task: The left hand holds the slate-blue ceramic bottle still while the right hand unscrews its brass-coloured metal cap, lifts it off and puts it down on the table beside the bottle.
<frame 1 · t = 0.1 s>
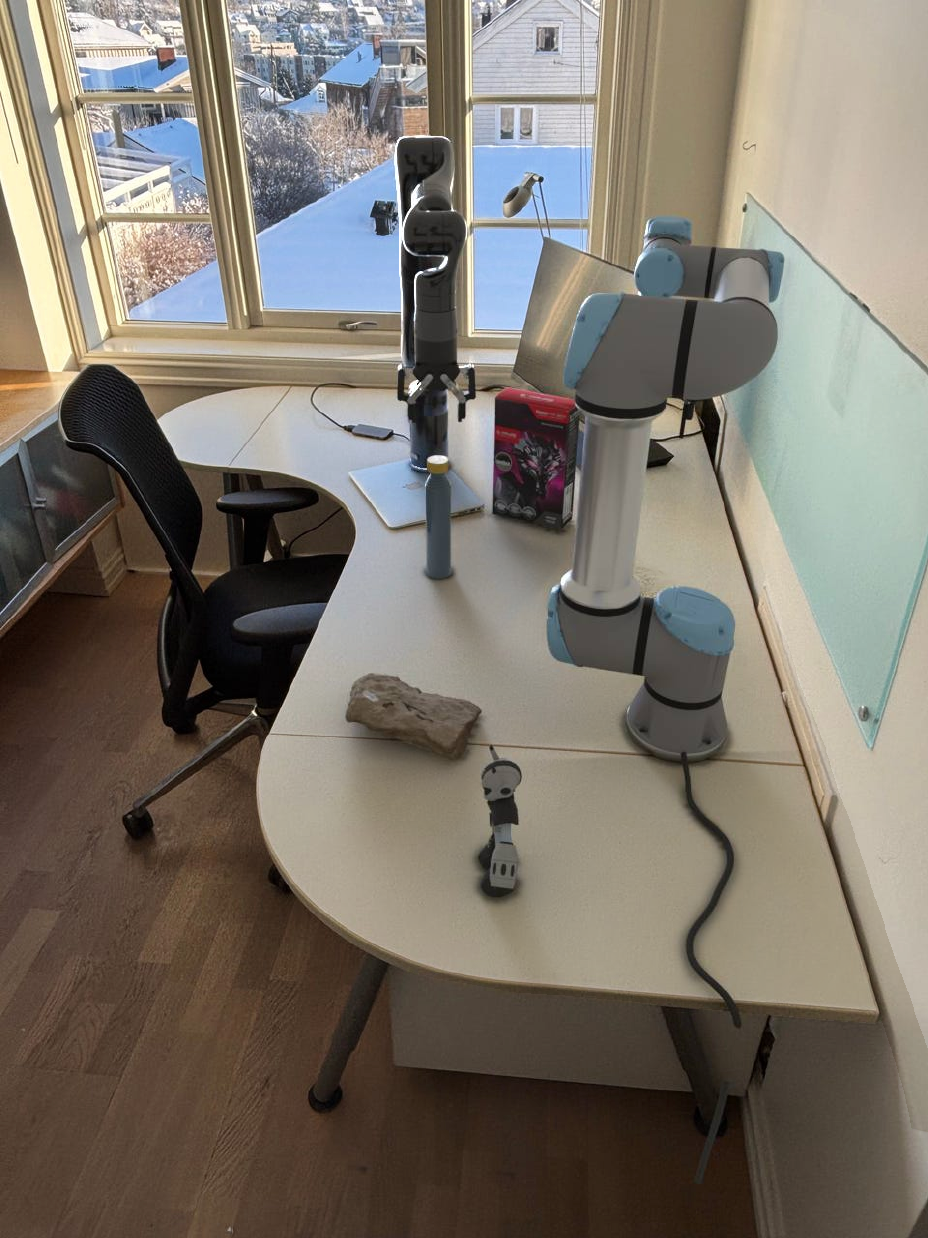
left hand: (436, 421, 170), 29 cm above the table, tool pointing down, fingers open, 8 cm apart
right hand: (643, 431, 170), 28 cm above the table, tool pointing down, fingers open, 13 cm apart
robot: (497, 872, 120), on the table
stone: (408, 728, 143), on the table
cap: (437, 461, 169), point 24 cm above the table, screwed on, not yet turned
bottle: (438, 572, 182), on the table
graphics card box: (531, 518, 202), on the table
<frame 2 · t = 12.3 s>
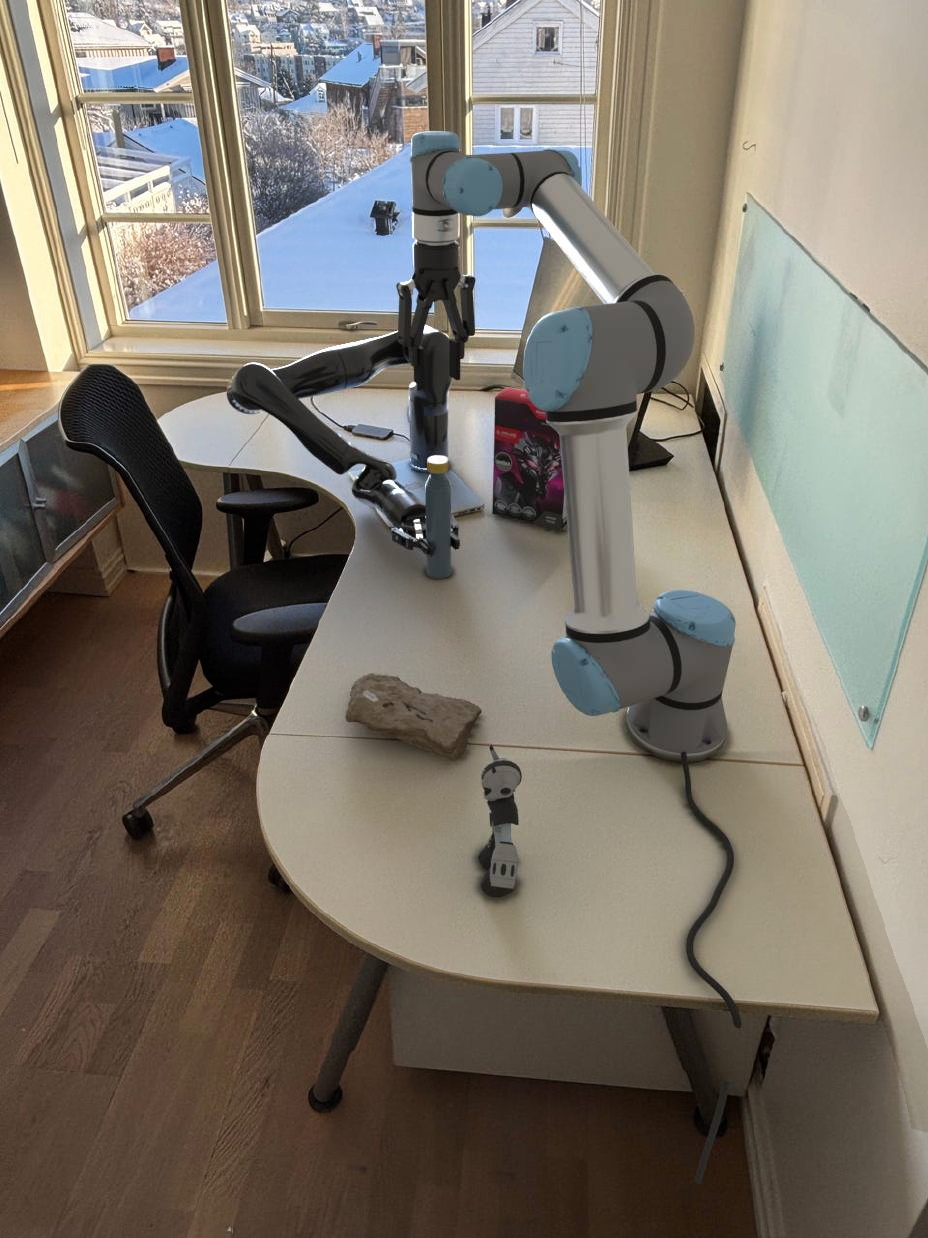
left hand: (445, 548, 177), 7 cm above the table, tool horizontal, fingers closed on bottle, 5 cm apart
right hand: (437, 380, 161), 39 cm above the table, tool pointing down, fingers open, 6 cm apart
bottle: (438, 572, 182), on the table, touching left hand
everything else where it was.
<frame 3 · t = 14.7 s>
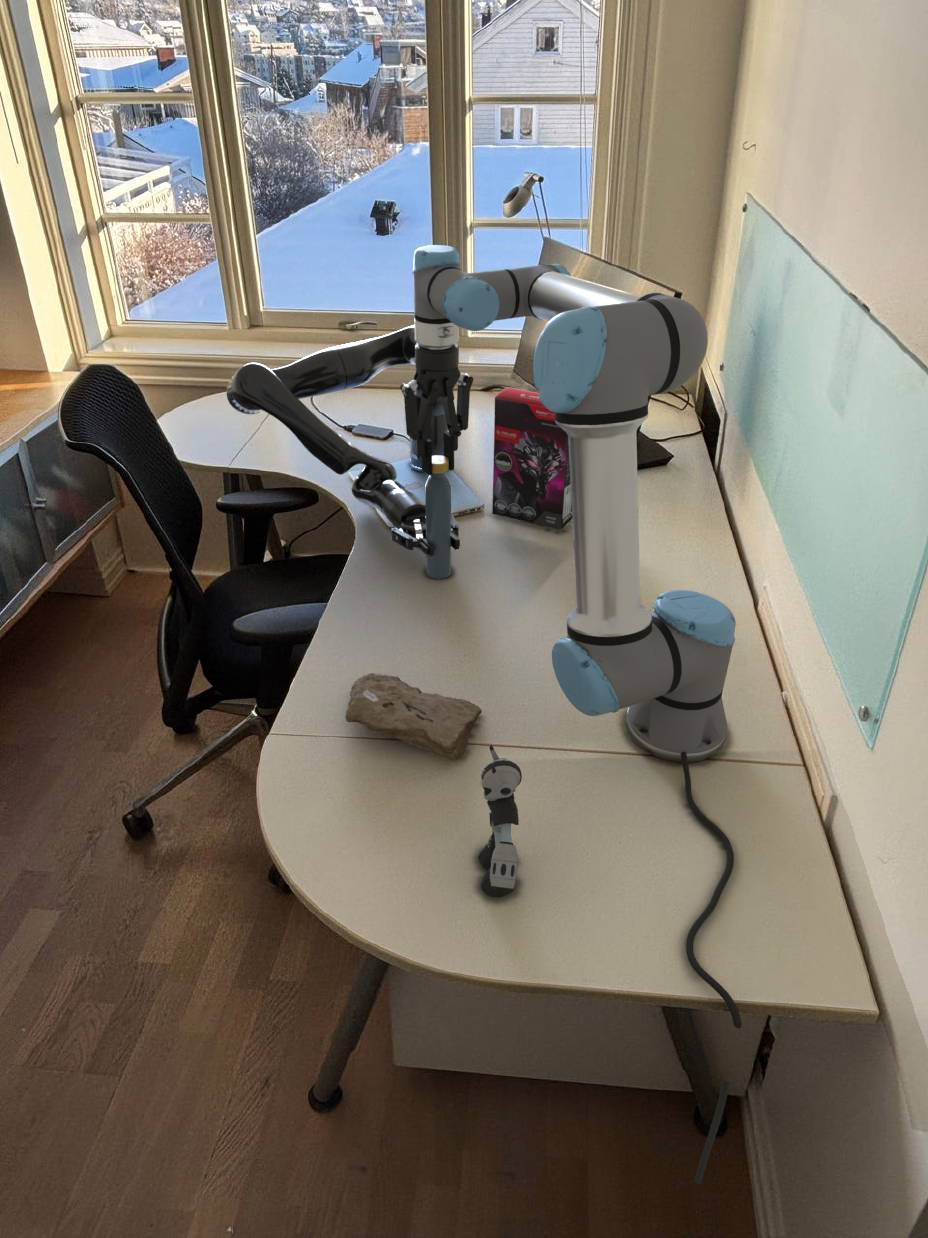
left hand: (445, 548, 177), 7 cm above the table, tool horizontal, fingers closed on bottle, 5 cm apart
right hand: (437, 469, 170), 22 cm above the table, tool pointing down, fingers closed on cap, 4 cm apart
cap: (437, 461, 169), point 24 cm above the table, screwed on, not yet turned, touching right hand
bottle: (438, 572, 182), on the table, touching left hand
everything else where it was.
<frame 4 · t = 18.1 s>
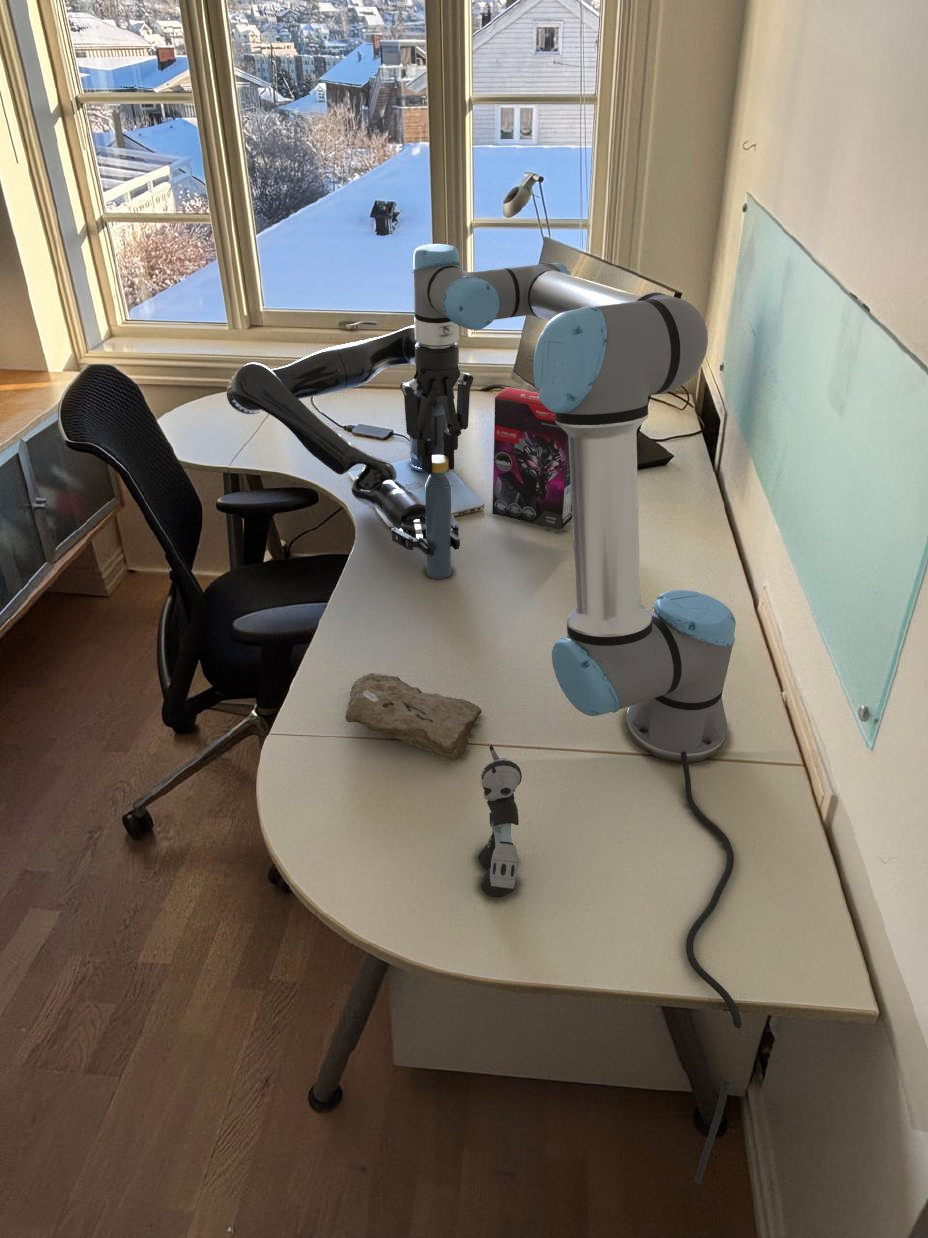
left hand: (445, 548, 177), 7 cm above the table, tool horizontal, fingers closed on bottle, 5 cm apart
right hand: (437, 468, 170), 22 cm above the table, tool pointing down, fingers closed on cap, 4 cm apart
cap: (437, 460, 169), point 24 cm above the table, turned 122° so far, risen 0.1 cm, still on its thread, touching right hand
bottle: (438, 572, 182), on the table, touching left hand
everything else where it was.
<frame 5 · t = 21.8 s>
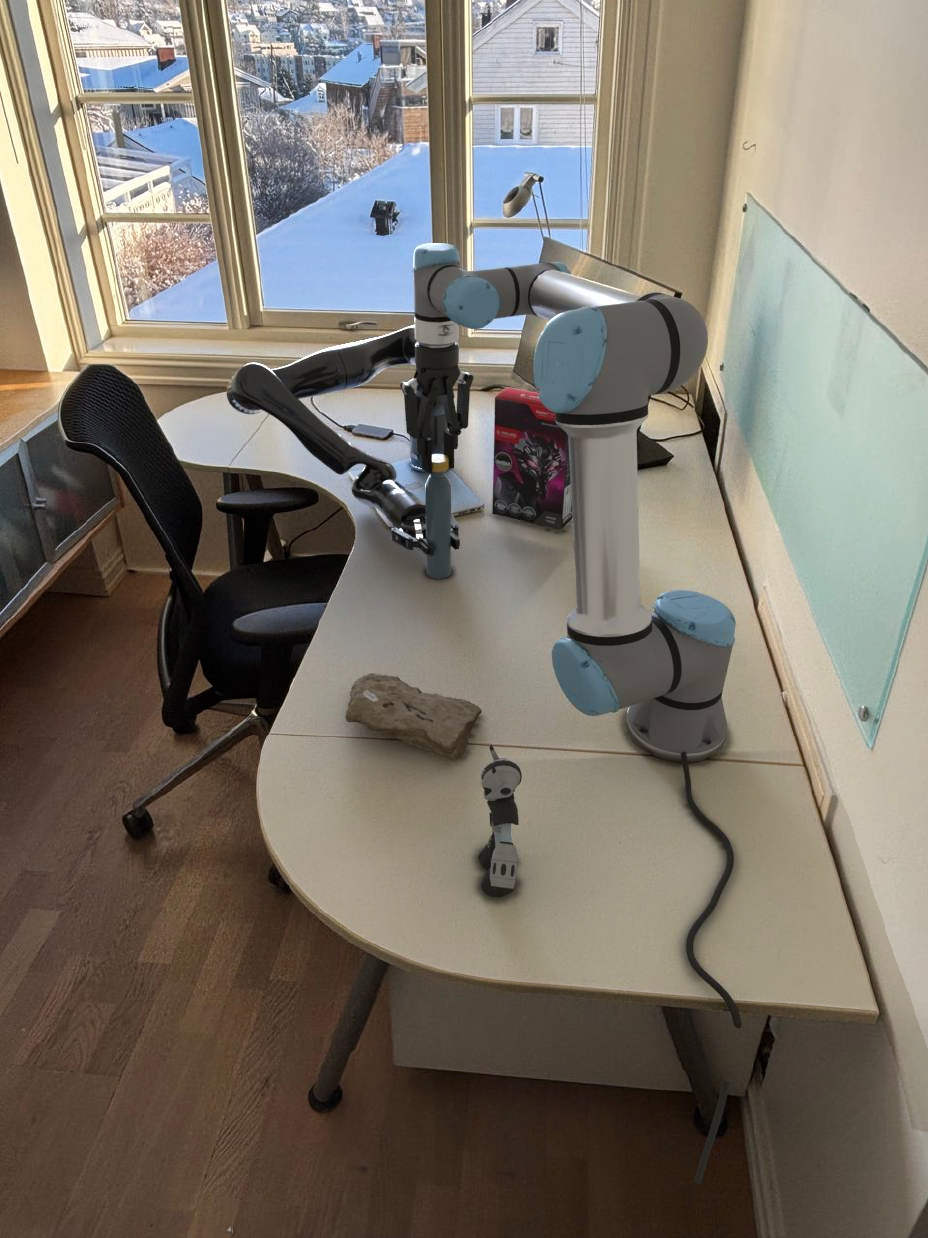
left hand: (445, 548, 177), 7 cm above the table, tool horizontal, fingers closed on bottle, 5 cm apart
right hand: (437, 468, 170), 22 cm above the table, tool pointing down, fingers closed on cap, 4 cm apart
cap: (437, 459, 169), point 24 cm above the table, turned 244° so far, risen 0.3 cm, still on its thread, touching right hand
bottle: (438, 572, 182), on the table, touching left hand
everything else where it was.
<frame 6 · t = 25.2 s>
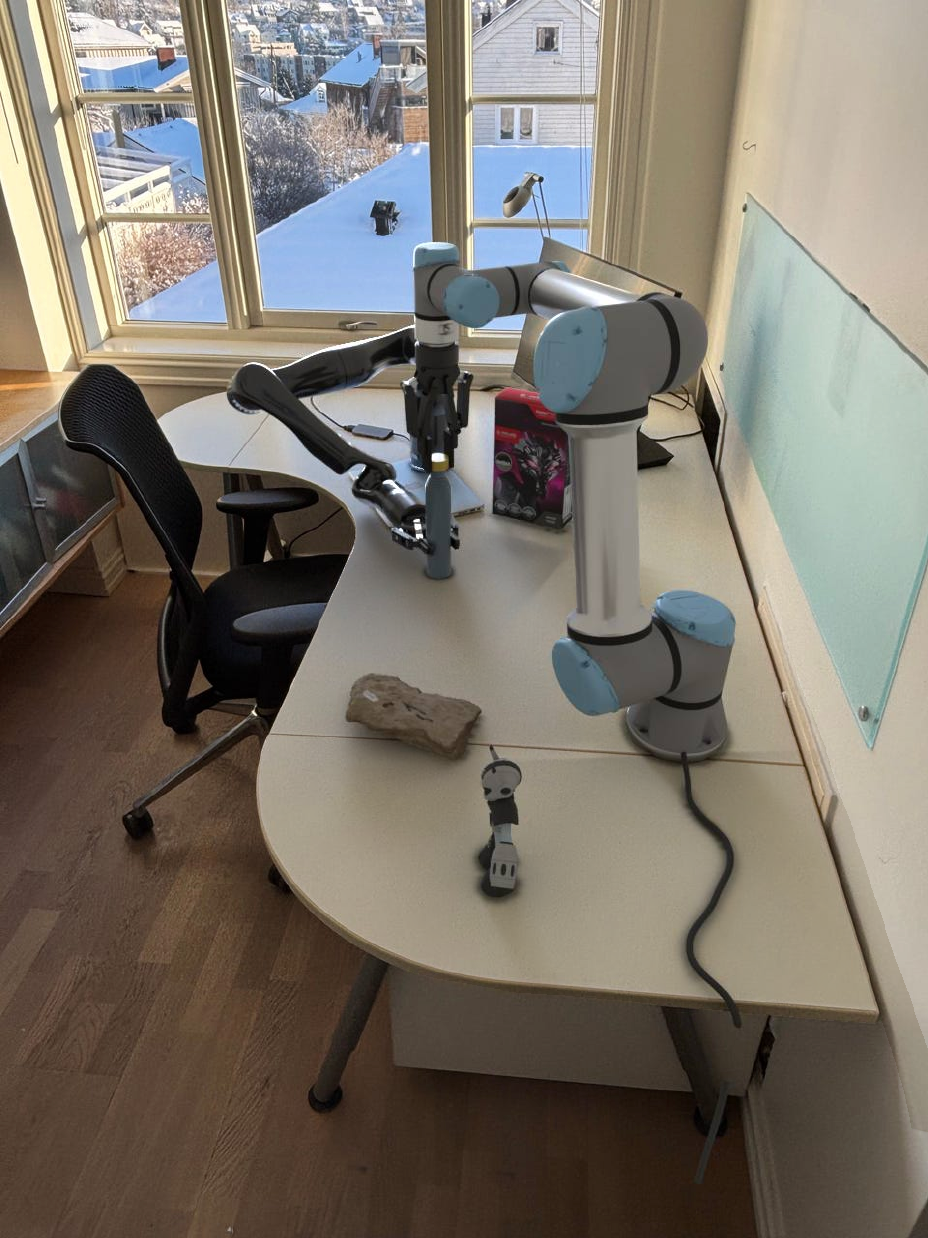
left hand: (445, 548, 177), 7 cm above the table, tool horizontal, fingers closed on bottle, 5 cm apart
right hand: (437, 467, 170), 23 cm above the table, tool pointing down, fingers closed on cap, 4 cm apart
cap: (437, 458, 169), point 24 cm above the table, turned 366° so far, risen 0.4 cm, still on its thread, touching right hand
bottle: (438, 572, 182), on the table, touching left hand
everything else where it was.
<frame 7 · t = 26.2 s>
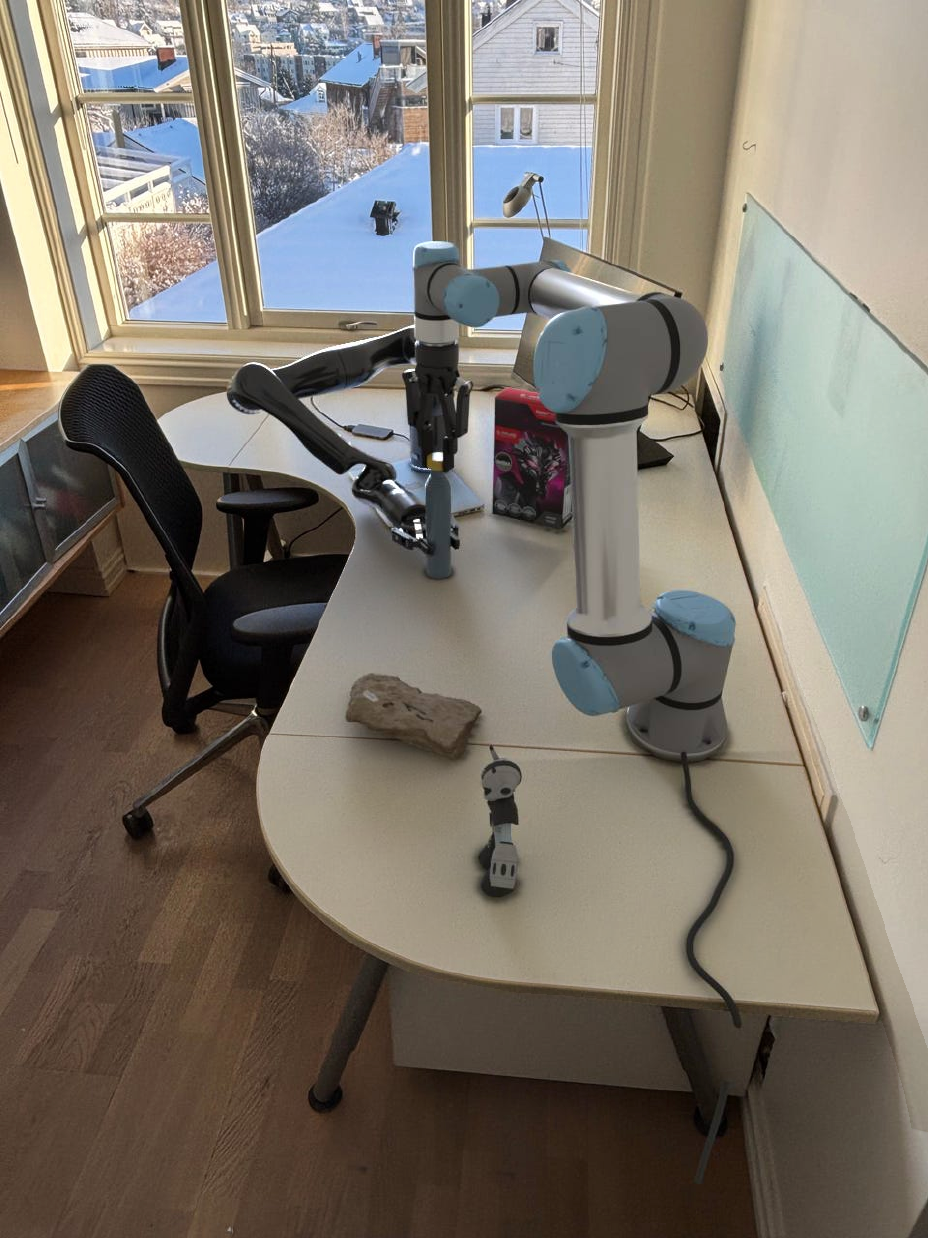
left hand: (445, 548, 177), 7 cm above the table, tool horizontal, fingers closed on bottle, 5 cm apart
right hand: (437, 466, 170), 23 cm above the table, tool pointing down, fingers closed on cap, 4 cm apart
cap: (437, 458, 169), point 24 cm above the table, off its thread, touching right hand
bottle: (438, 572, 182), on the table, touching left hand
everything else where it was.
when the right hand's fingers open (1 cm above the table, at t = 33.0 s): cap drops 1 cm, point 2 cm above the table.
when the left hand's fingers open (7 cm above the table, at t = 34.3 s): bottle stays where it is, on the table.
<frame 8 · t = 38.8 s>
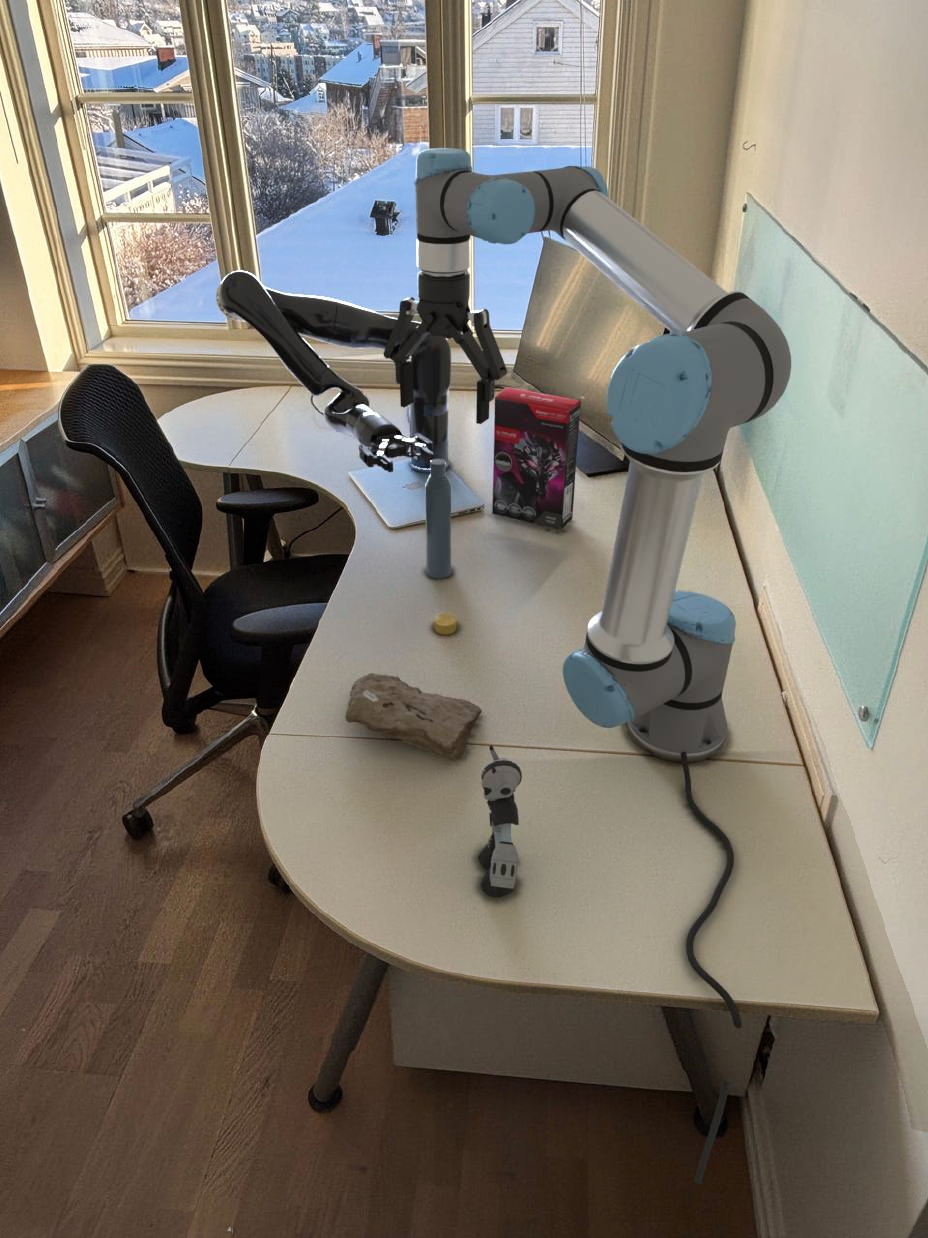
left hand: (411, 463, 180), 19 cm above the table, tool horizontal, fingers open, 8 cm apart
right hand: (444, 412, 143), 41 cm above the table, tool pointing down, fingers open, 13 cm apart
cap: (445, 620, 165), point 2 cm above the table, off its thread
bottle: (438, 572, 182), on the table
everything else where it was.
at the end: cap came off its thread; cap point 1.6 cm above the table; the left hand is holding nothing; the right hand is holding nothing; bottle tilted 0°; bottle moved 0.0 cm from its start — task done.
